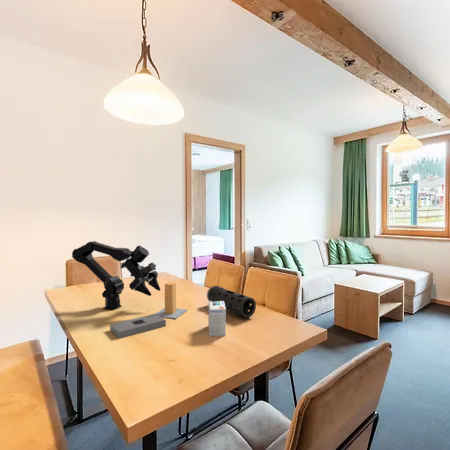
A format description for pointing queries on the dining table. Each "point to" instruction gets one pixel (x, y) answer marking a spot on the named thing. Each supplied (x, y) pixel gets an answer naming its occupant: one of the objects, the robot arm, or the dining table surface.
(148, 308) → the dining table surface
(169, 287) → the plug
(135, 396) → the dining table surface
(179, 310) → the mat
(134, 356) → the dining table surface
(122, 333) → the grey square-hole plate
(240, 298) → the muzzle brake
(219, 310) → the light bulb box
